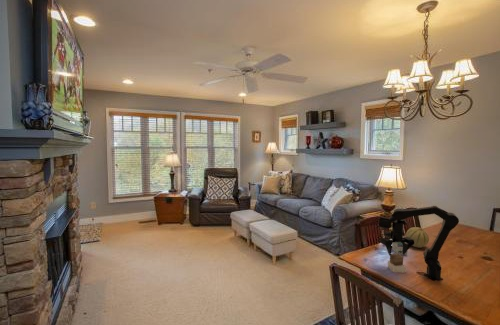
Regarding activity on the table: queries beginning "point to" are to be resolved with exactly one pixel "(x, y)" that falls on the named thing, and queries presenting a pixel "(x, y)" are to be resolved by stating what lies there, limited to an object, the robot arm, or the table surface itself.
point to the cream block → (397, 267)
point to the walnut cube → (396, 259)
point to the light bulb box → (398, 248)
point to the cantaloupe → (418, 236)
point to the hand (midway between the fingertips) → (396, 254)
